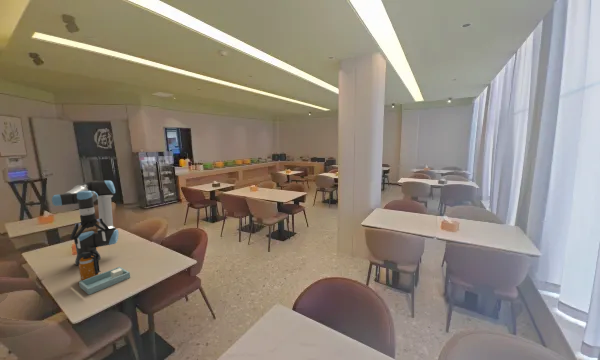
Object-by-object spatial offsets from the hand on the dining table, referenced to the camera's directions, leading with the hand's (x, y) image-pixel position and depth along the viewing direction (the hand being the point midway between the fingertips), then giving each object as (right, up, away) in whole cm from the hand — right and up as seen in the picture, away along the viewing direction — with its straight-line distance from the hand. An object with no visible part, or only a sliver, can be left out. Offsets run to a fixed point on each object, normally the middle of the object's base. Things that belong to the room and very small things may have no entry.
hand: (92, 244), depth 158 cm
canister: (-2, -25, +2) cm, 25 cm away
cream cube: (+16, -23, +2) cm, 28 cm away
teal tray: (+12, -25, -3) cm, 28 cm away
